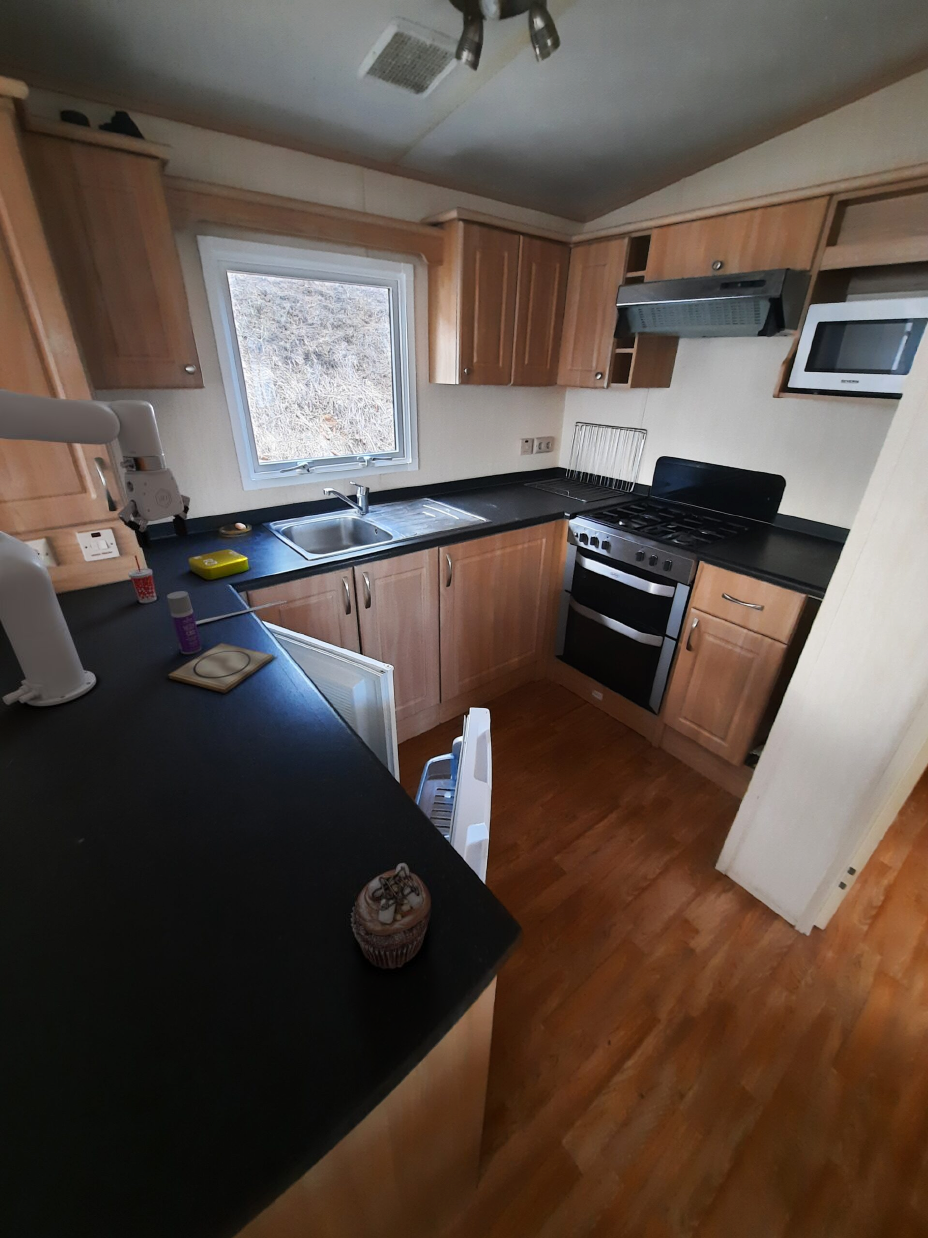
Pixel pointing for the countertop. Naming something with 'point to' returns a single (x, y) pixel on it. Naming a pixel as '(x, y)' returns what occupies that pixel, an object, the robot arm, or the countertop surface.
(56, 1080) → the countertop surface
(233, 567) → the yellow flat square block
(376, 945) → the cupcake
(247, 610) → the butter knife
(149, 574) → the beverage cup
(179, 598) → the container
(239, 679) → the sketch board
